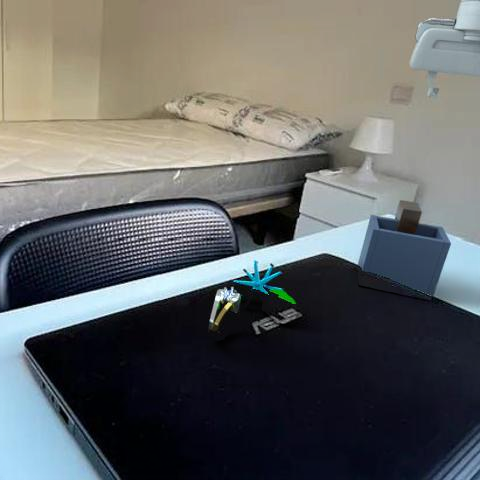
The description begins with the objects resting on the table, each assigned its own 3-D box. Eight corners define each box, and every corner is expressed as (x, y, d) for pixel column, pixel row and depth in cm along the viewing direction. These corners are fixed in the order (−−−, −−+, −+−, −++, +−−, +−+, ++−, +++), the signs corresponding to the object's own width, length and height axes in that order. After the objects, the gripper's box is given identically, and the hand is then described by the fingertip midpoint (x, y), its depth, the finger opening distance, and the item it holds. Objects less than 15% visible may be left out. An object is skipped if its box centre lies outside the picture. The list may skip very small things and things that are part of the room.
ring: (217, 355, 66) (225, 303, 63) (197, 345, 68) (204, 294, 65) (243, 334, 71) (252, 285, 68) (224, 325, 73) (232, 277, 70)
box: (424, 282, 92) (442, 227, 88) (431, 301, 85) (451, 243, 81) (356, 268, 96) (370, 214, 91) (357, 286, 89) (373, 229, 84)
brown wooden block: (404, 248, 94) (417, 202, 90) (407, 259, 89) (422, 211, 85) (387, 244, 94) (400, 199, 91) (389, 255, 90) (403, 208, 86)
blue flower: (222, 284, 80) (256, 248, 79) (239, 294, 86) (271, 261, 84) (271, 338, 73) (310, 300, 72) (287, 345, 78) (322, 310, 77)
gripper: (422, 15, 90) (401, 95, 95) (554, 25, 84) (523, 109, 90) (418, 17, 95) (398, 92, 101) (540, 26, 90) (513, 105, 95)
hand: (458, 100), depth 95 cm, fingers open, 8 cm apart
